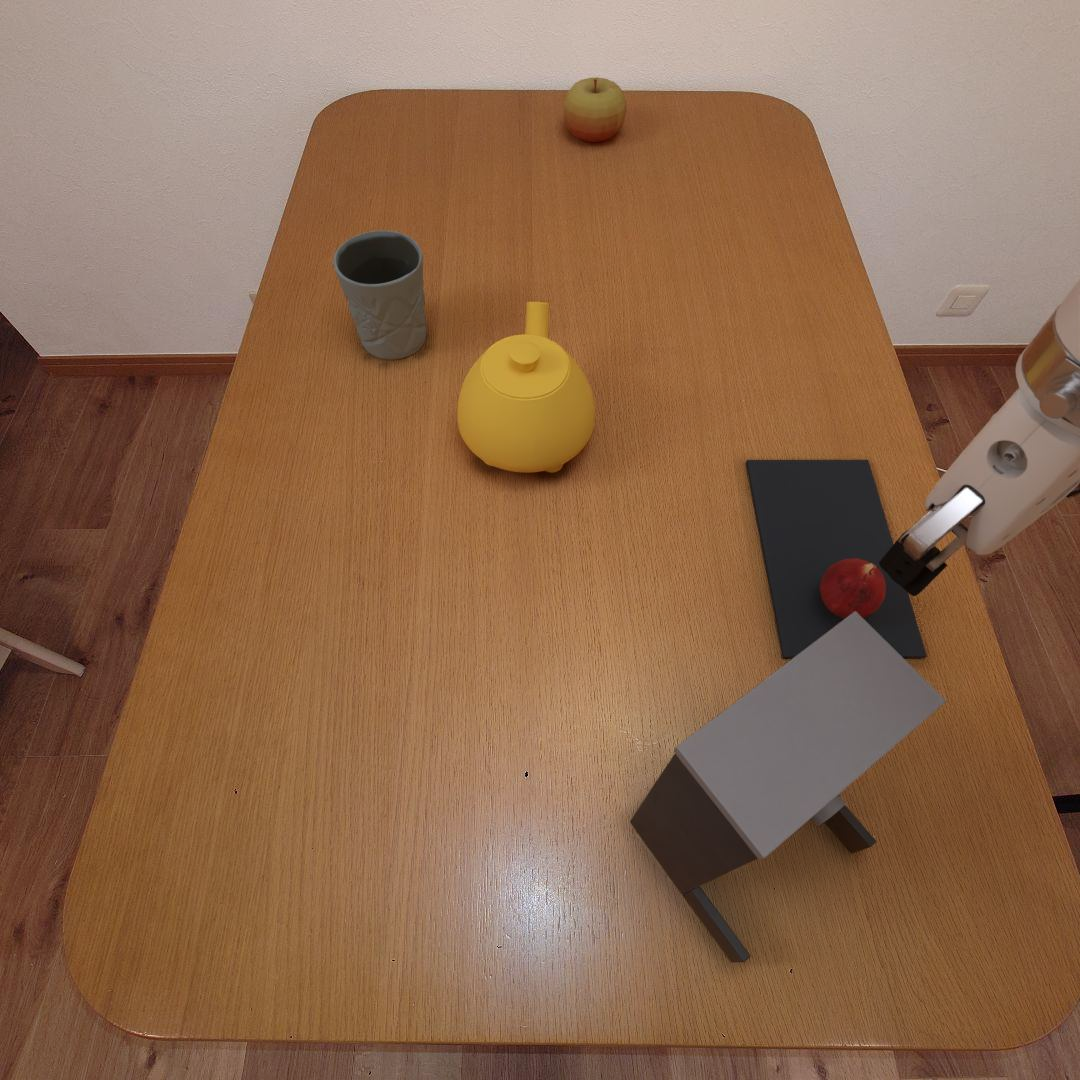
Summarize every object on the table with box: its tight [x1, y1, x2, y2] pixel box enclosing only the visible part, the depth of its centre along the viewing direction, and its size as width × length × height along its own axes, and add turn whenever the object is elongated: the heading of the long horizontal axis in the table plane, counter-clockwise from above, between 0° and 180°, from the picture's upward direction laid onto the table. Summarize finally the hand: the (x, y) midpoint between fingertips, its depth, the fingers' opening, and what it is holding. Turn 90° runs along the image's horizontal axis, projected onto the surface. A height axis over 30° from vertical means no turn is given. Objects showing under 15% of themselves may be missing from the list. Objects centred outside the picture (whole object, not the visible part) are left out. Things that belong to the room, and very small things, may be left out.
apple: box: [563, 76, 627, 143], centre depth 113 cm, size 10×10×8 cm
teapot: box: [456, 301, 596, 474], centre depth 79 cm, size 20×16×14 cm
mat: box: [745, 459, 927, 660], centre depth 76 cm, size 24×14×1 cm, turn 0°
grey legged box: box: [629, 611, 947, 964], centre depth 51 cm, size 13×15×25 cm
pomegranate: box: [820, 558, 886, 618], centre depth 69 cm, size 6×6×8 cm
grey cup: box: [332, 229, 428, 361], centre depth 88 cm, size 10×10×12 cm
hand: (944, 544), depth 51 cm, fingers open, 9 cm apart
